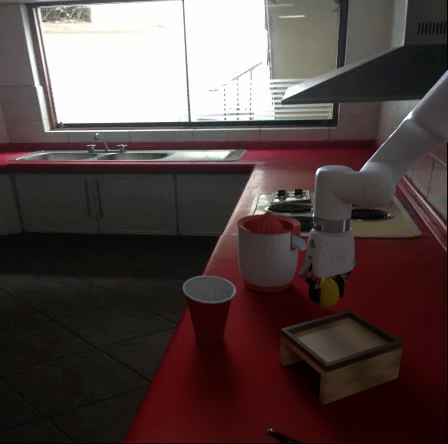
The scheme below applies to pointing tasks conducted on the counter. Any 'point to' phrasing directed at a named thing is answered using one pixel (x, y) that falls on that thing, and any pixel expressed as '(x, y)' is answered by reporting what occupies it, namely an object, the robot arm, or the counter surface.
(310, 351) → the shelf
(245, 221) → the citrus juicer
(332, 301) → the lemon
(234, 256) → the counter surface
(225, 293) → the plastic cup
